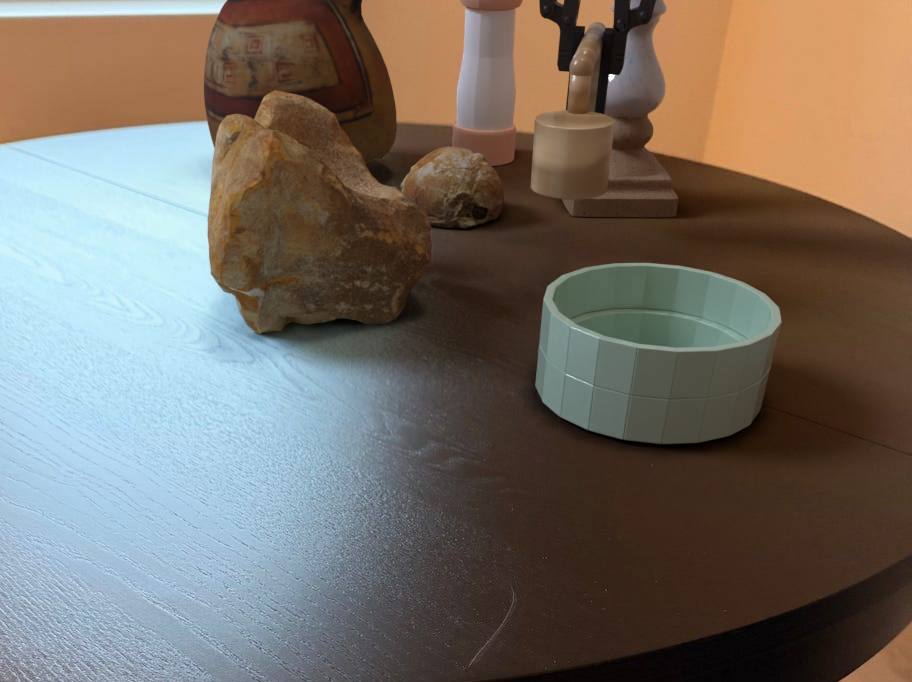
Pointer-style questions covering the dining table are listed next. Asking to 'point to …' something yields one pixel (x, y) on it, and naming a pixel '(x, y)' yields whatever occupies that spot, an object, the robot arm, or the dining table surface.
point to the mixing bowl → (655, 352)
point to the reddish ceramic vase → (301, 66)
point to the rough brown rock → (308, 222)
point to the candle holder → (634, 135)
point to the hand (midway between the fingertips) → (585, 114)
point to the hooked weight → (575, 133)
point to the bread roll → (455, 188)
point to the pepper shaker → (487, 81)
